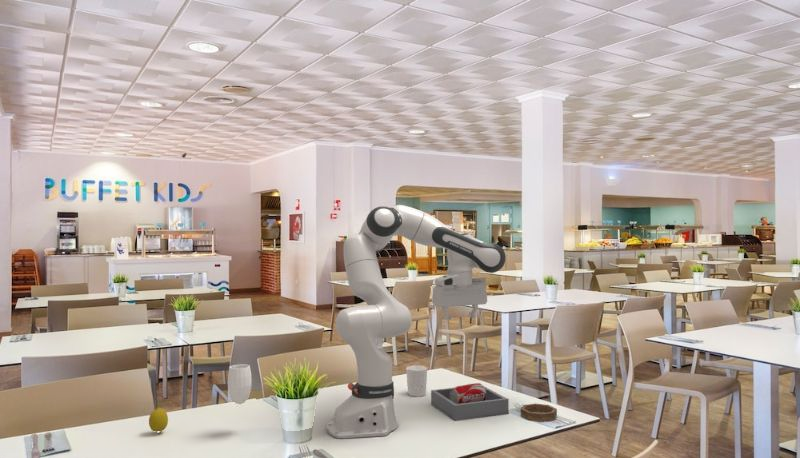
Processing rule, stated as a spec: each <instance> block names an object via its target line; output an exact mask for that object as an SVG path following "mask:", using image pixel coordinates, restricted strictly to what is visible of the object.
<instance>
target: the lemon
mask: <svg viewBox="0 0 800 458" xmlns="http://www.w3.org/2000/svg"><path fill="white" fill-rule="evenodd" d="M168 423H169V418H168V413H167V412H166V410H164V409H162V408H160V407H157V408H156V409H154V410H153V411H152V412H151V413H150V415H149V418H148V426H149V428H150V429H151V431H152V432H154V431H161V432H163V431H164V430H165V429H166V428H167V426H168ZM162 430H163V431H162Z"/></svg>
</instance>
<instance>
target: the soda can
mask: <svg viewBox="0 0 800 458" xmlns="http://www.w3.org/2000/svg"><path fill="white" fill-rule="evenodd" d="M483 386H484V385H483V384H482V383H480V382H476V383H468V384H463V385H457V386H455V387H453V388H454V389H452V390H451V391H450V394H449V397H450V400H451V401H452V402H454V403H455V404H462V403H470V402H479V401H485V399H486V390H485V388H484V387H485V386H484V387H483Z"/></svg>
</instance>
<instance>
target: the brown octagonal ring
mask: <svg viewBox="0 0 800 458" xmlns="http://www.w3.org/2000/svg"><path fill="white" fill-rule="evenodd" d="M557 413H558V409H557V408H555V407H554V406H552V405H550V404H545V403H544V404H542V403H530V404H529V403H528V404H524V405H523V406H521V408H520V417H521V418H523V419H525V420H527V421H533V422H538V423H545V422H544V421H546V422H552V421H551V420H553V421H555V420H556V418H557V417H558V414H557ZM556 416H557V417H556ZM554 419H555V420H554Z"/></svg>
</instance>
